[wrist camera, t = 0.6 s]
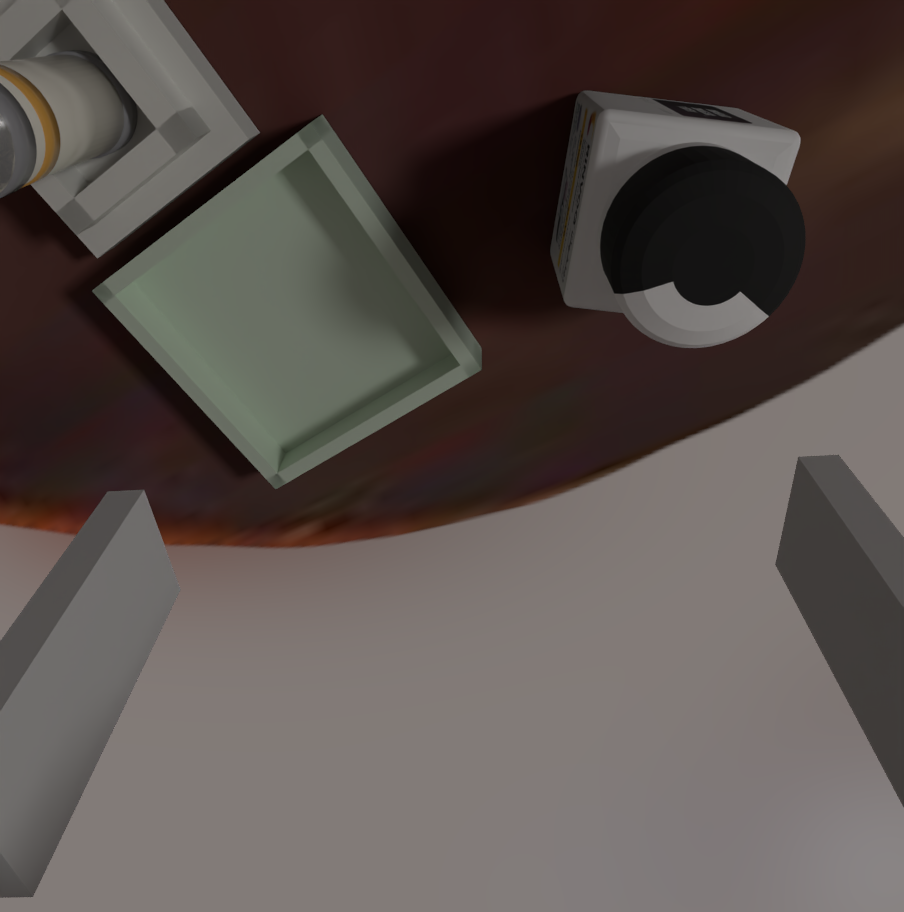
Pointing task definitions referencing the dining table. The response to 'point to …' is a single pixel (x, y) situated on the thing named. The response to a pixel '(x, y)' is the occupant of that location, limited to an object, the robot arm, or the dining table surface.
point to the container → (677, 217)
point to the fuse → (59, 115)
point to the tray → (295, 309)
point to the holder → (158, 107)
